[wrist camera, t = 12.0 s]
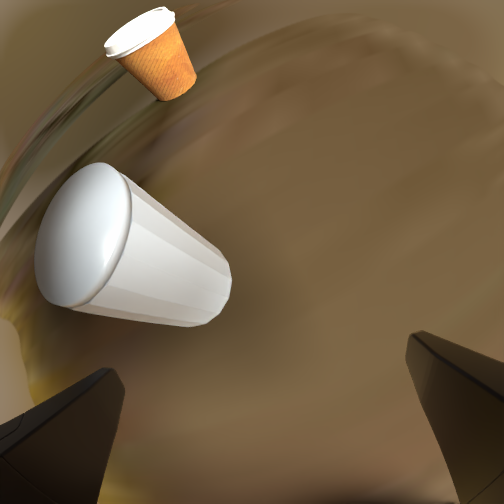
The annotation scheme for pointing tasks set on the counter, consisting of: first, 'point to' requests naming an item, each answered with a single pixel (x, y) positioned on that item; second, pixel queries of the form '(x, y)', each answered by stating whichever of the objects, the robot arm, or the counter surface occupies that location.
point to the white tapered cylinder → (126, 255)
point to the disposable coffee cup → (154, 54)
